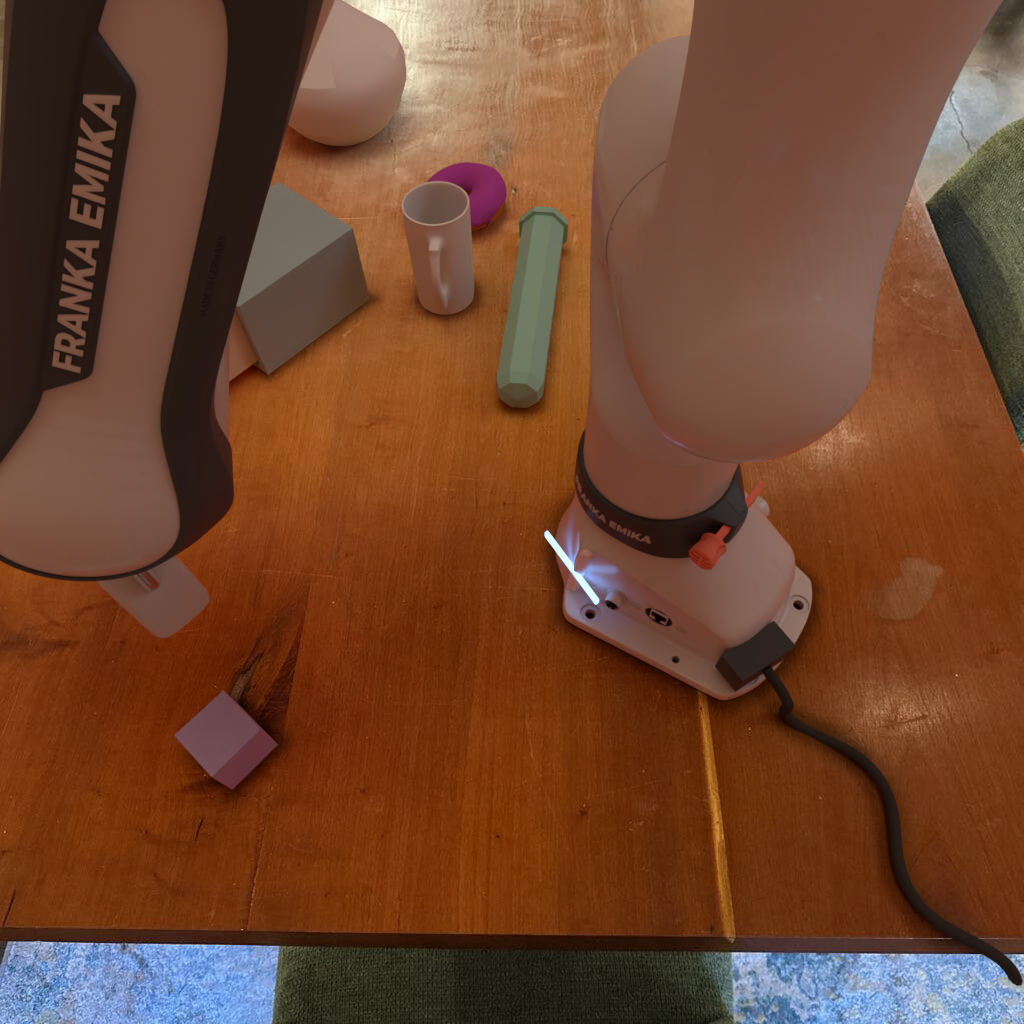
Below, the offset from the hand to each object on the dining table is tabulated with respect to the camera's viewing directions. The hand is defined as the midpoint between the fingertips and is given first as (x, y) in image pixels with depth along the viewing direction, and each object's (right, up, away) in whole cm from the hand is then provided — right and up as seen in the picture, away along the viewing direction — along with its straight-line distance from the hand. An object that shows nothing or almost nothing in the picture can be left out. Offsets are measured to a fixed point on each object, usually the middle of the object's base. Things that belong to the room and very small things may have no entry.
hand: (132, 561), depth 51 cm
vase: (+3, +55, +52) cm, 76 cm away
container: (+27, +24, +32) cm, 48 cm away
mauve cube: (+4, -15, +9) cm, 18 cm away
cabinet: (0, +25, +34) cm, 42 cm away
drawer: (-8, +18, +28) cm, 34 cm away
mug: (+18, +26, +34) cm, 46 cm away
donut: (+20, +39, +42) cm, 61 cm away
